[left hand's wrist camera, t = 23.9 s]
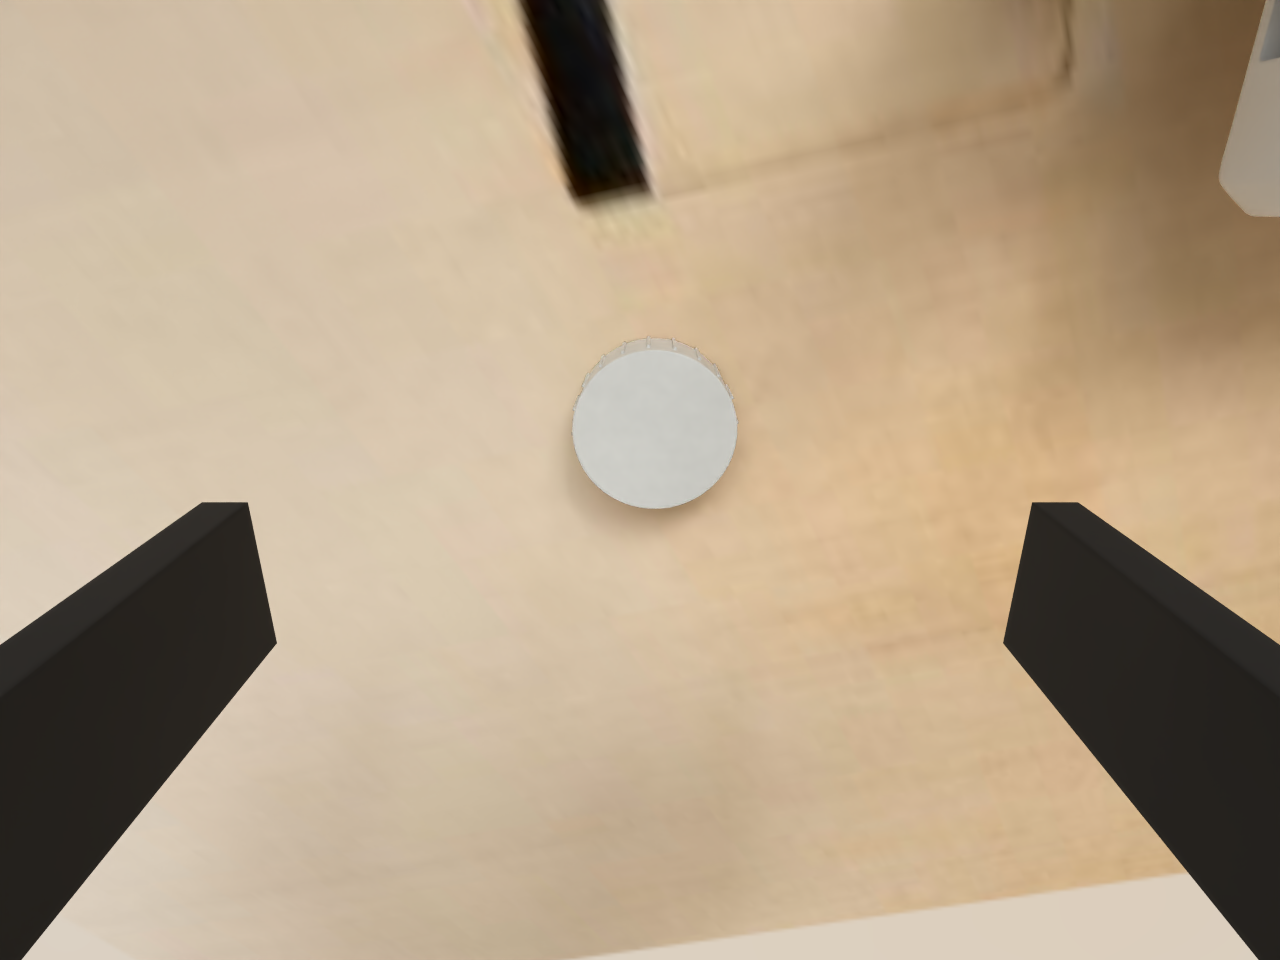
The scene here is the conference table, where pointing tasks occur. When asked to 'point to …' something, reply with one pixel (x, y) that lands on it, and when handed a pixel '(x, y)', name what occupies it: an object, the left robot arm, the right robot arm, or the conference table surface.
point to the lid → (654, 424)
